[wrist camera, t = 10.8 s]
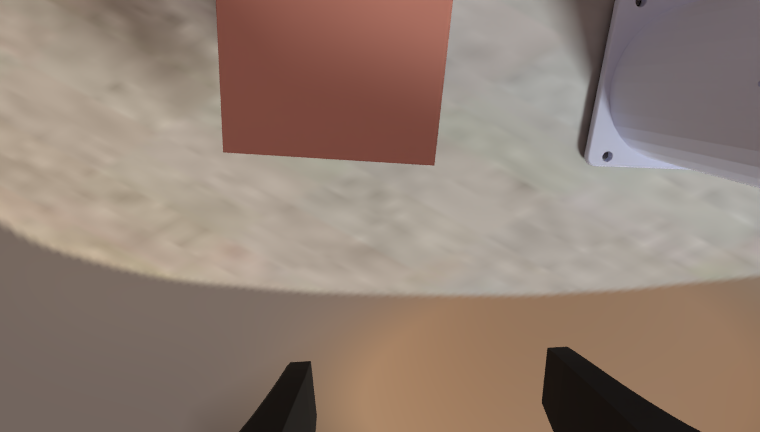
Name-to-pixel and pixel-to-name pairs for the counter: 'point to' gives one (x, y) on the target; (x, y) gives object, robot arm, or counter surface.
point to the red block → (333, 77)
